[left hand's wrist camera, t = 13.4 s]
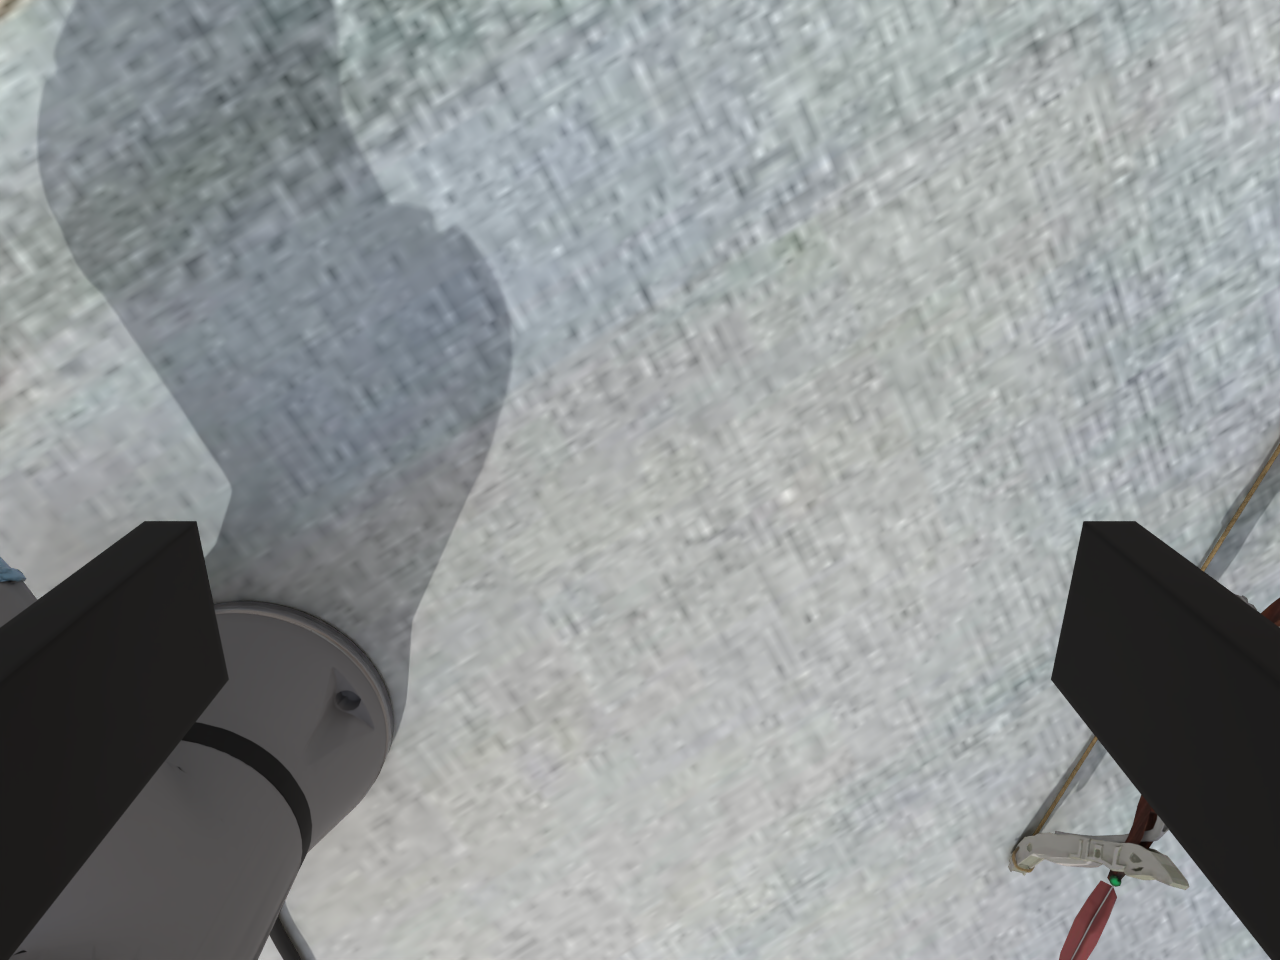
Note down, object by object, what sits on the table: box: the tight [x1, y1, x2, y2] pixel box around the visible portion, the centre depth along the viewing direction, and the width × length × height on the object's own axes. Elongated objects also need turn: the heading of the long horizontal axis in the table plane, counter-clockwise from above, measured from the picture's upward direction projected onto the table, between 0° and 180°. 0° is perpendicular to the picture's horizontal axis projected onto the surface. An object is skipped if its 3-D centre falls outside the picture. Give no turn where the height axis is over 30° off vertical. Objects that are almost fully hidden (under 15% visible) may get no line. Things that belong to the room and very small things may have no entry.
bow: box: [1008, 444, 1280, 960], centre depth 44 cm, size 39×2×10 cm, turn 162°
